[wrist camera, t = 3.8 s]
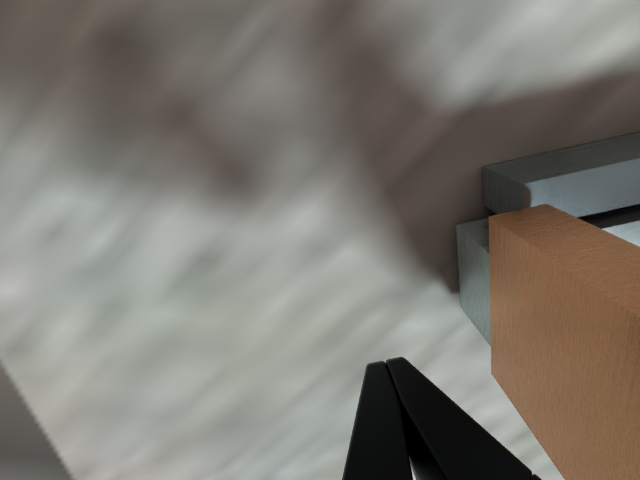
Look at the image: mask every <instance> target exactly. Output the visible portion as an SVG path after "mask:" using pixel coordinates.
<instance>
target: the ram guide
mask: <svg viewBox="0 0 640 480" xmlns="http://www.w3.org/2000/svg"><path fill="white" fill-rule="evenodd" d="M483 200H484V206H486V207H487V208H489V209H490V210H492V211H494V212H495V213H497V214H502V213H506V212H511V211H515V210H520V209H525V208H529V207H534V206H538V205H543V204H549V205H551V206H553V207H555V208H557V209H559V210H562V211H564V212H566V213H568V214H570V215H572V216H574V217H581V216H586V215H590V214H595V213H600V212H604V211H609V210H613V209H618V208H622V207H627V206H632V205H636V204H640V132H637V133H632V134H628V135H623V136H619V137H614V138H610V139H605V140H601V141H596V142H592V143H587V144H583V145H578V146H574V147H569V148H565V149H560V150H556V151H551V152H547V153H542V154H538V155H533V156H529V157H524V158H519V159H515V160H510V161H506V162H501V163H497V164H492V165H488V166H483Z"/></svg>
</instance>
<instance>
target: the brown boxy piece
mask: <svg viewBox="0 0 640 480" xmlns="http://www.w3.org/2000/svg"><path fill="white" fill-rule="evenodd" d="M456 236H457V253H458V270H459V287H460V304H461V308H462V309H463V311H464V312H465V313H466V315H467V316H468V317H469V319H470V320H471V321H472V323H473V324H474V325H475V326H476V328H477V329H478V330H479V332H480V333H481V334H482V336H483V337H484V338H485V340H486V341H487V342H488V344H489V345H490V346H491V373H492V375H493V376H494V378H495V379H496V381H497V382H498V384H499V385H500V386H501V388H502V389H503V391H504V392H505V394H506V395H507V397H508V398H509V399H510V401H511V402H512V404H513V405H514V407H515V408H516V410H517V411H518V413H519V414H520V415H521V417H522V418H523V420H524V421H525V423H526V424H527V426H528V427H529V428H530V430H531V431H532V433H533V434H534V436H535V437H536V439H537V440H538V441H539V443H540V444H541V446H542V447H543V449H544V450H545V452H546V453H547V455H548V456H549V457H550V459H551V460H552V462H553V463H554V465H555V466H556V468H557V469H558V470H559V472H560V473H561V475H562V476H563V478H564V479H565V480H640V204H636V205H632V206H627V207H622V208H618V209H613V210H609V211H604V212H600V213H595V214H590V215H586V216H581V217H574V216H572V215H570V214H568V213H566V212H564V211H562V210H559V209H557V208H555V207H553V206H551V205H549V204H543V205H538V206H534V207H529V208H525V209H520V210H515V211H511V212H506V213H502V214H497V215H493V216H489V218H485V219H480V220H476V221H471V222H467V223H462V224H457V225H456Z"/></svg>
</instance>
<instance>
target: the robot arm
mask: <svg viewBox="0 0 640 480" xmlns="http://www.w3.org/2000/svg"><path fill="white" fill-rule="evenodd" d="M410 463H411V465H410ZM411 466H412V469H413V472H414V474H415V477H416V480H541V479H540V478H539V477H538V476H537V475H535V474H533V475H532V472H531V470H530V469H529V468H528V467H527V466H525V465H524V464H523V463H522V462H521V461H520V460H519V459H518V458H516V457H515V456H514V455H513V454H512V453H511V452H510V451H509V450H507V449H506V448H505V447H504V446H503V445H502V444H501V443H500V442H498V441H497V440H496V439H495V438H494V437H493V436H492V435H491V434H489V433H488V432H487V431H486V430H485V429H484V428H483V427H482V426H480V425H479V424H478V423H477V422H476V421H475V420H474V419H473V418H471V417H470V416H469V415H468V414H467V413H466V412H465V411H464V410H462V409H461V408H460V407H459V406H458V405H457V404H456V403H455V402H453V401H452V400H451V399H450V398H449V397H448V396H447V395H446V394H444V393H443V392H442V391H441V390H440V389H439V388H438V387H437V386H435V385H434V384H433V383H432V382H431V381H430V380H429V379H428V378H426V377H425V376H424V375H423V374H422V373H421V372H420V371H419V370H417V369H416V368H415V367H414V366H413V365H412V364H411V363H410V362H408V361H407V360H406V359H405V358H403V357H398V358H393V359H388V360H387V361H386V363H385V362H384V361H379V362H374V363H369V364H368V365H367V366H366V370H365V375H364V380H363V384H362V389H361V394H360V398H359V403H358V408H357V412H356V417H355V422H354V426H353V431H352V436H351V440H350V445H349V450H348V454H347V459H346V464H345V469H344V473H343V478H342V480H413V477H412V471H411Z"/></svg>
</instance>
